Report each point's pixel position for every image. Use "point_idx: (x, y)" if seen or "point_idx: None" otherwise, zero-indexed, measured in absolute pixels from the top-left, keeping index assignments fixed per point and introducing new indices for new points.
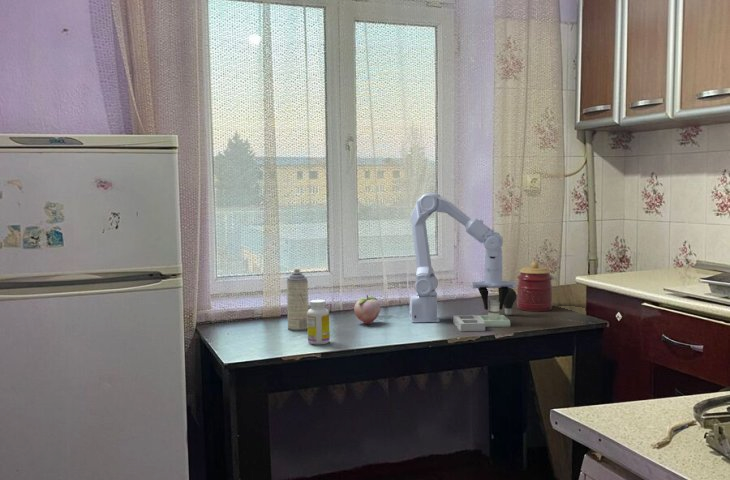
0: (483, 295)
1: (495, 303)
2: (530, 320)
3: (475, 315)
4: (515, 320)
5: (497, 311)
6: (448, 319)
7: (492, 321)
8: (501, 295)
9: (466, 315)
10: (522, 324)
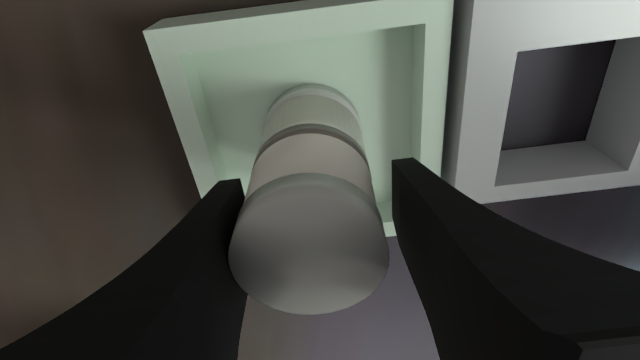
0: (581, 257)
1: (302, 188)
2: (29, 239)
3: (468, 190)
4: (140, 235)
5: (275, 141)
6: (594, 242)
7: (342, 3)
8: (175, 306)
9: (547, 187)
10: (61, 112)
